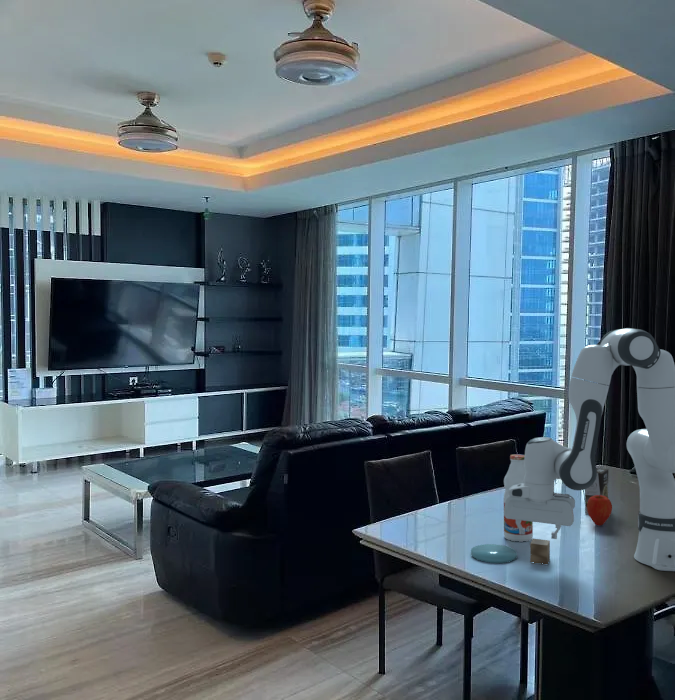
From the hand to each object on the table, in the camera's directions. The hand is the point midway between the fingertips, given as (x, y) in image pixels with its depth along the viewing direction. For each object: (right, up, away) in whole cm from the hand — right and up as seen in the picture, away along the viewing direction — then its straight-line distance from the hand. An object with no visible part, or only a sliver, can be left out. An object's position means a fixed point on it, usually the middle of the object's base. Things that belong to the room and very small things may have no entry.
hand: (538, 536), depth 207 cm
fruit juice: (0, -7, +23) cm, 24 cm away
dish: (-12, -8, +6) cm, 15 cm away
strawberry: (+32, -6, +35) cm, 48 cm away
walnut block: (+1, -8, 0) cm, 8 cm away
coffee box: (+38, -5, +52) cm, 64 cm away
